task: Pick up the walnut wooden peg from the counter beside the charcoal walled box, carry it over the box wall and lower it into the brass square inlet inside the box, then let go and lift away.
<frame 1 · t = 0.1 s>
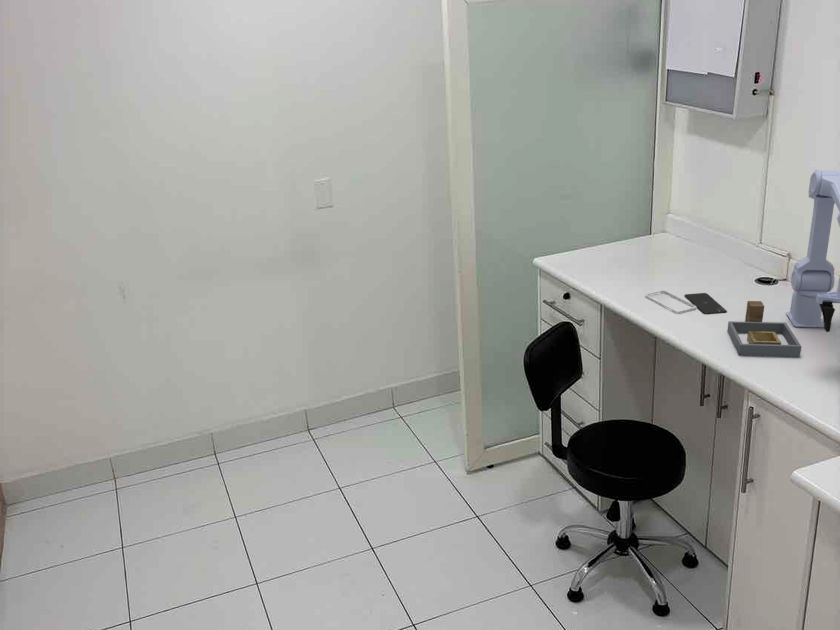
phone case: (670, 305, 254), on the table
smartphone: (705, 305, 252), on the table
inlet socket: (763, 345, 226), resting in walled box
walled box: (762, 343, 226), on the table
walnut peg: (752, 326, 236), on the table
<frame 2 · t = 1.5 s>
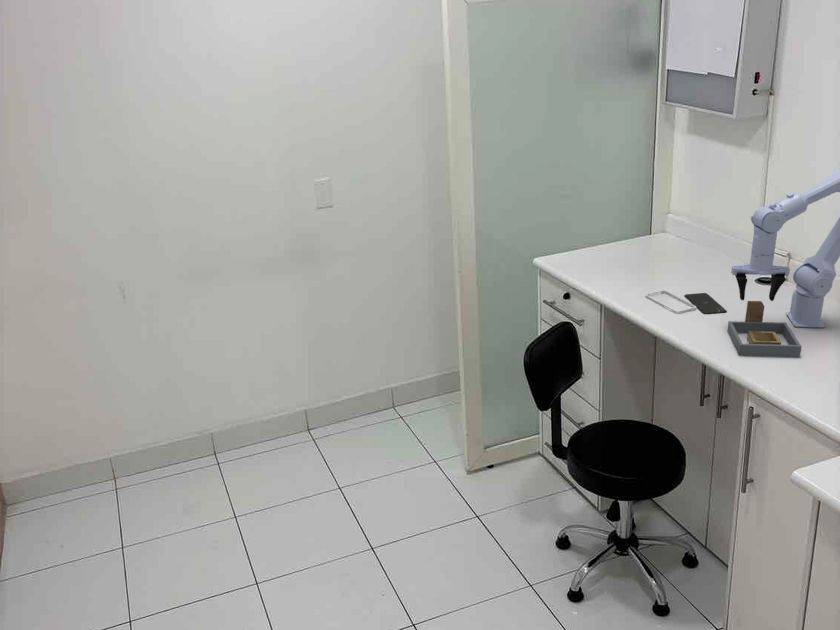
hand: (756, 299, 233), 8 cm above the table, tool pointing down, fingers open, 7 cm apart
nothing on the table moved.
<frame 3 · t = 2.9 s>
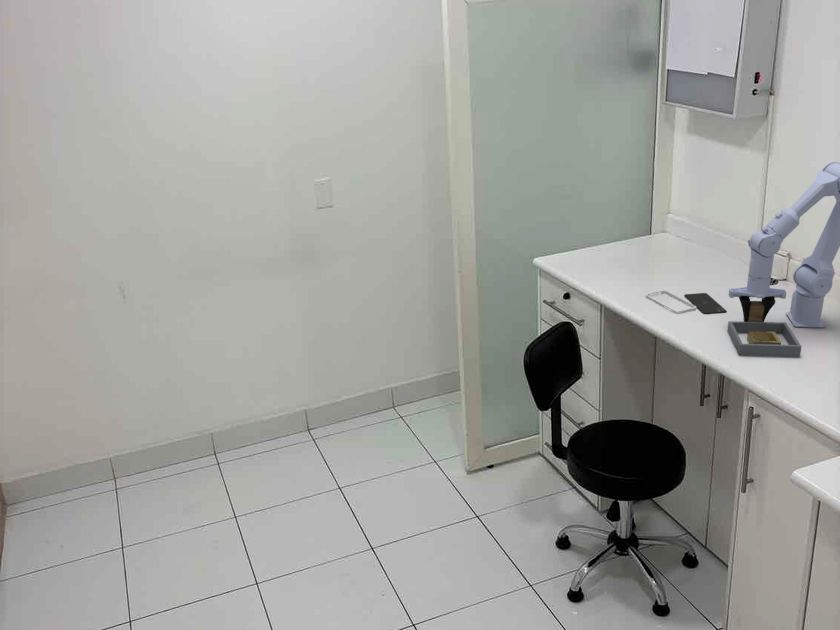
hand: (753, 321, 236), 2 cm above the table, tool pointing down, fingers closed on walnut peg, 4 cm apart
walnut peg: (752, 326, 236), on the table, touching gripper
everything else where it was.
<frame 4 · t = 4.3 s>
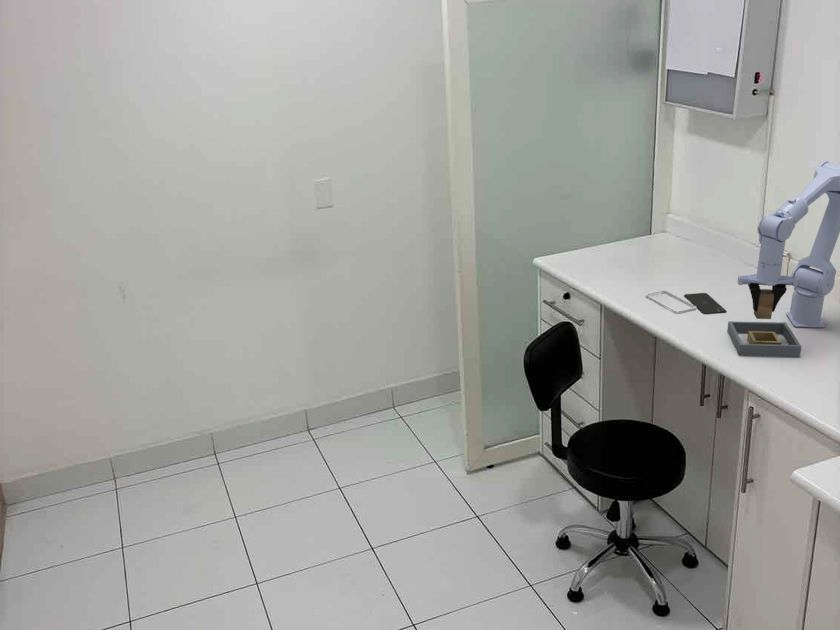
hand: (763, 310, 226), 8 cm above the table, tool pointing down, fingers closed on walnut peg, 4 cm apart
walnut peg: (762, 316, 227), point 7 cm above the table, touching gripper
everything else where it was.
when the fingers open (3 cm above the table, at t = 5.9 s): walnut peg drops 1 cm, resting in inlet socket.
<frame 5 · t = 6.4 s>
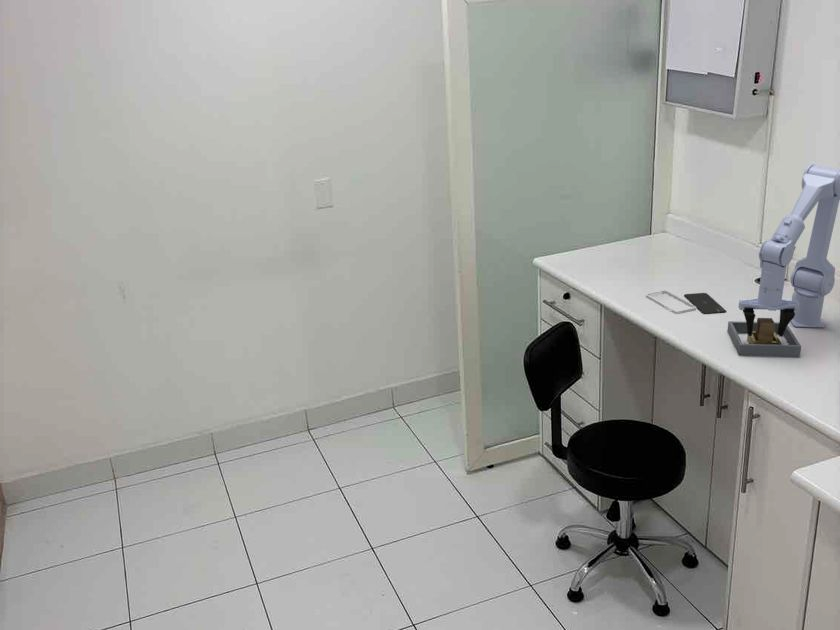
hand: (764, 334, 224), 3 cm above the table, tool pointing down, fingers open, 7 cm apart
walnut peg: (762, 344, 226), resting in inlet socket
everything else where it was.
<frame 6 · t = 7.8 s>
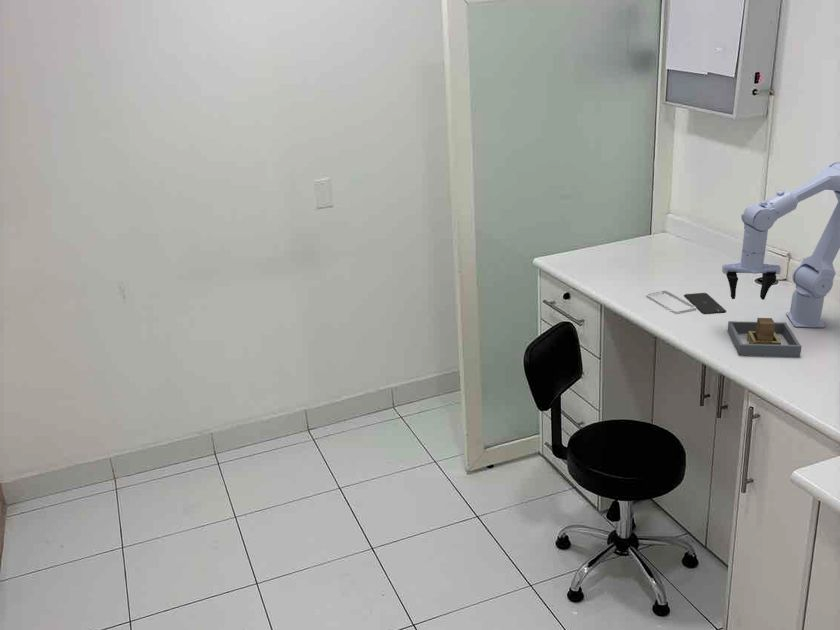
hand: (747, 298, 231), 9 cm above the table, tool pointing down, fingers open, 7 cm apart
nothing on the table moved.
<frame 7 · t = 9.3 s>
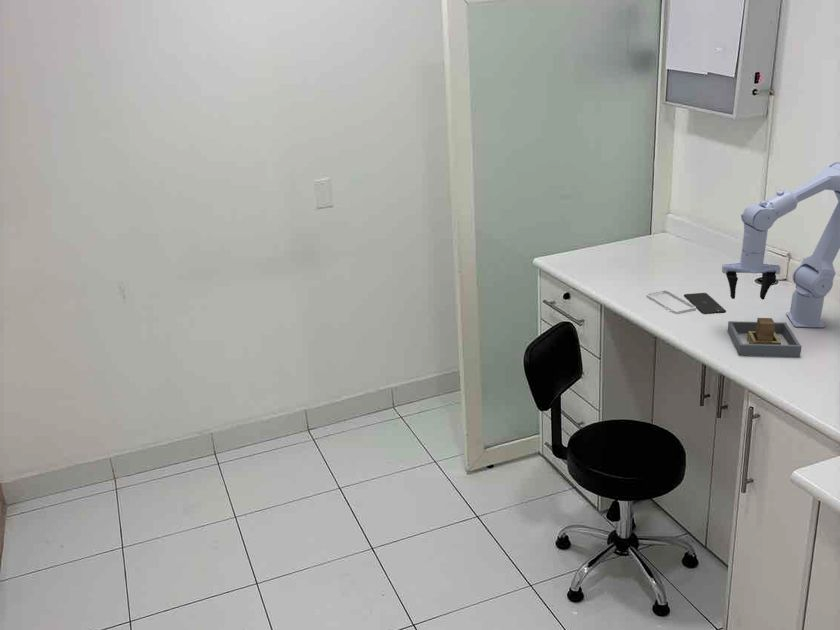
hand: (747, 297, 231), 9 cm above the table, tool pointing down, fingers open, 7 cm apart
nothing on the table moved.
at the end: walnut peg 0.4 cm off-centre on the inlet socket, point 0.0 cm above the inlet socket's base; walnut peg tilted 0°; the gripper is holding nothing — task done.
